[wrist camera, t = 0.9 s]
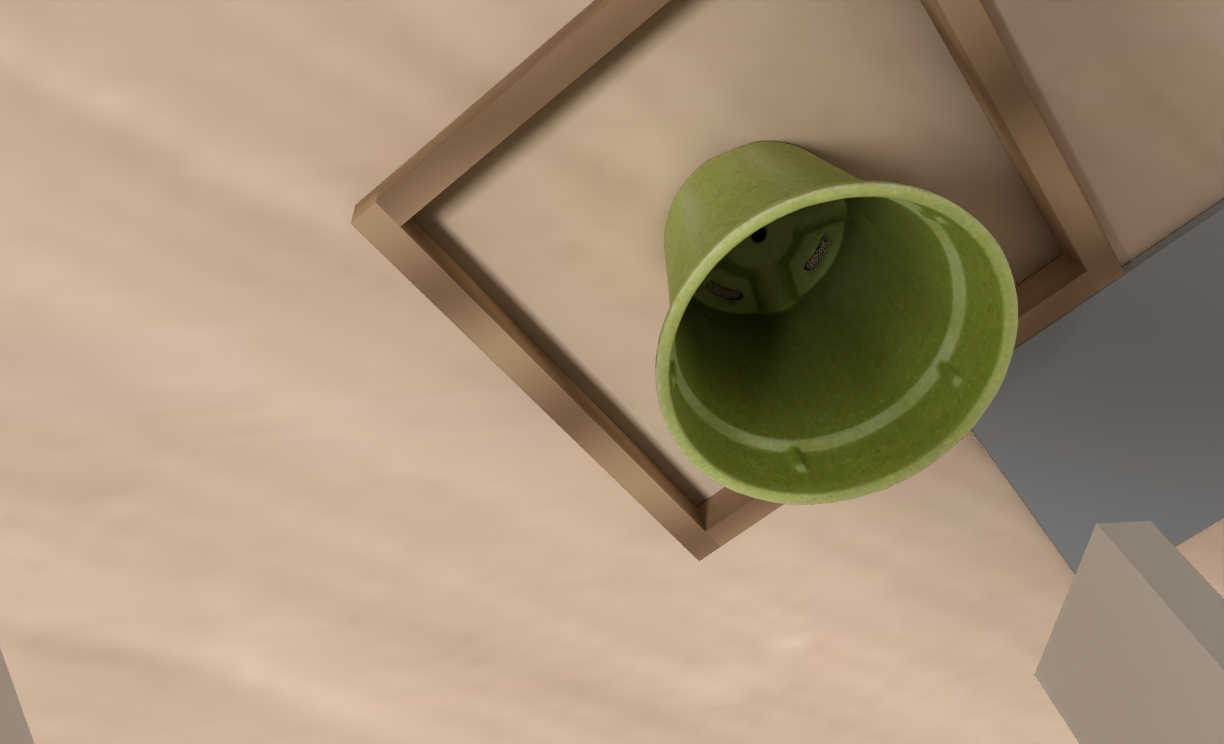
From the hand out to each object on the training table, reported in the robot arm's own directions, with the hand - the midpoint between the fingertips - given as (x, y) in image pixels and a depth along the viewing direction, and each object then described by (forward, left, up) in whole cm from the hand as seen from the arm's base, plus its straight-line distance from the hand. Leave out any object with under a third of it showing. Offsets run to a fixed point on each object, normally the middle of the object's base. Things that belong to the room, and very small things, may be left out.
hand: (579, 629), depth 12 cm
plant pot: (+8, +4, -21) cm, 23 cm away
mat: (+25, +13, -21) cm, 35 cm away
